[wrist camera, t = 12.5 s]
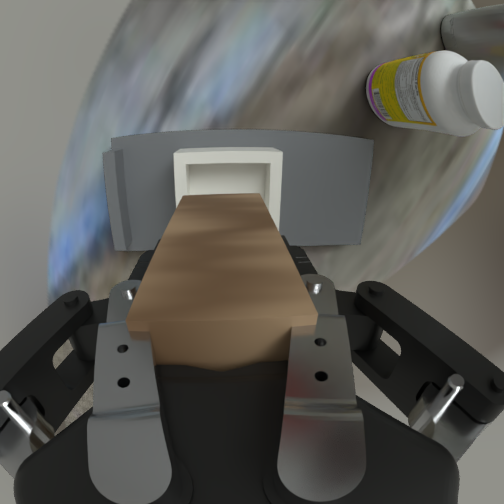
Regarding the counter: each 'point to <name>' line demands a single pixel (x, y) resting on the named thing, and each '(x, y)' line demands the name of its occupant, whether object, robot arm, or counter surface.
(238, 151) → the tab
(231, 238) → the peg
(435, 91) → the supplement bottle
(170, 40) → the counter surface
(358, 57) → the counter surface
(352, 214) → the switch panel
